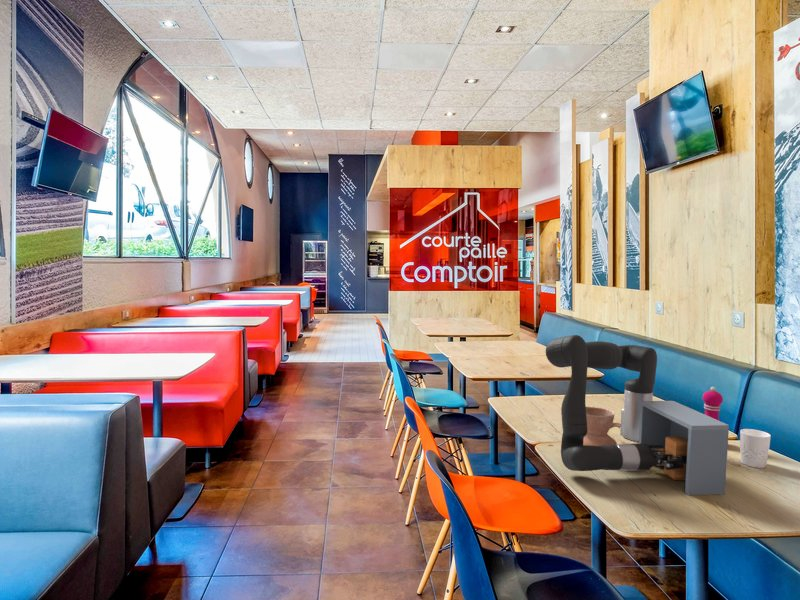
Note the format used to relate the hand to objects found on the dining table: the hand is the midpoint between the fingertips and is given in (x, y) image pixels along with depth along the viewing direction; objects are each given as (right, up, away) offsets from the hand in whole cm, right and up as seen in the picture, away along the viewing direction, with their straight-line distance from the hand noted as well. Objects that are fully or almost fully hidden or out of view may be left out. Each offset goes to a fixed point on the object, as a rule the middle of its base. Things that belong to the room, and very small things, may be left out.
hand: (686, 455), depth 151 cm
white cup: (+27, -6, +10) cm, 29 cm away
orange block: (-3, -6, 0) cm, 7 cm away
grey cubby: (-3, -6, 0) cm, 7 cm away
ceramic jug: (-21, -5, +18) cm, 29 cm away
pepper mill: (+25, -4, +29) cm, 38 cm away
